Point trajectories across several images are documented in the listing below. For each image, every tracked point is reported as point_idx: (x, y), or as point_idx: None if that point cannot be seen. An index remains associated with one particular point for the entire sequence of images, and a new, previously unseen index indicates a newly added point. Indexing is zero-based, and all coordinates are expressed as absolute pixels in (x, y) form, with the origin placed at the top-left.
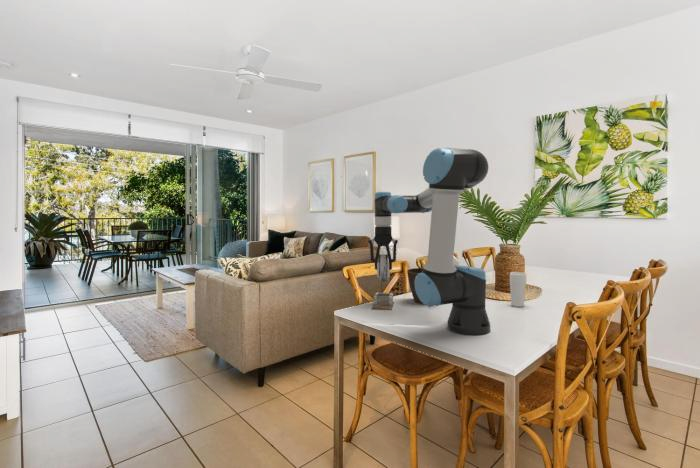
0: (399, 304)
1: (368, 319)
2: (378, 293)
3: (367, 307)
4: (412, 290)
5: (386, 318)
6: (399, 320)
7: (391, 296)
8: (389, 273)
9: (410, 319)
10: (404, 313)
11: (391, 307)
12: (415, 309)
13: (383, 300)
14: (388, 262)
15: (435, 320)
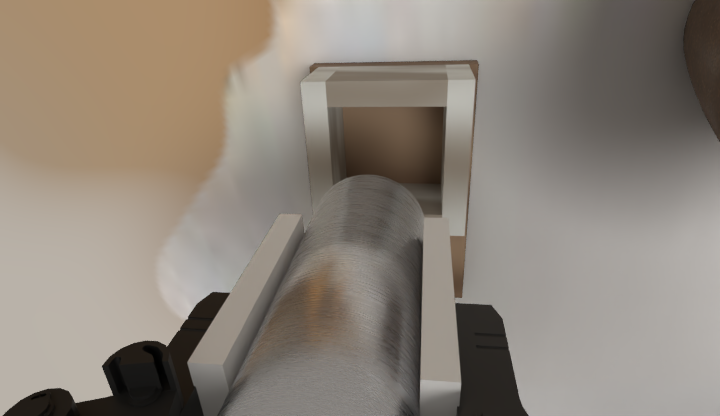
0: (524, 60)
1: None
2: (329, 107)
3: (284, 180)
4: (712, 125)
5: None
6: None
7: (461, 211)
8: (449, 246)
9: (565, 381)
10: (542, 287)
11: (458, 238)
12: (640, 194)
13: None
14: (437, 388)
15: (711, 391)
